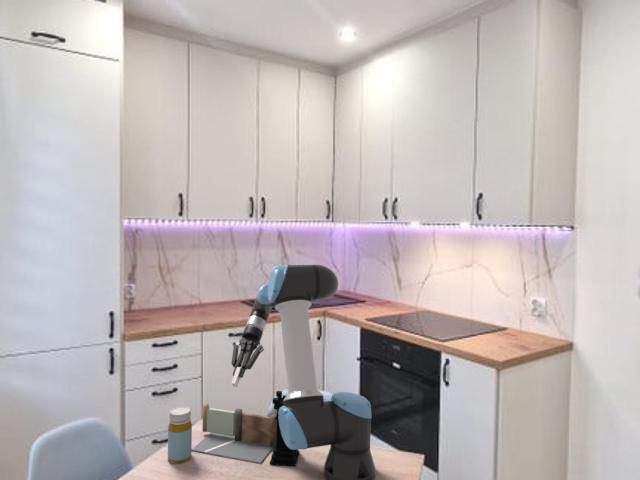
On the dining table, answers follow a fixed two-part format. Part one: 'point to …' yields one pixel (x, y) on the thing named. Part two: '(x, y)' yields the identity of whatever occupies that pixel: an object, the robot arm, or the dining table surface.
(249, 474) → the dining table surface
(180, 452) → the bottle
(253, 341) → the robot arm
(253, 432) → the walnut fence section
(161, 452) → the dining table surface
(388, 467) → the dining table surface
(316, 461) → the dining table surface
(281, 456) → the chess piece
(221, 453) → the board
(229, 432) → the fence panel
